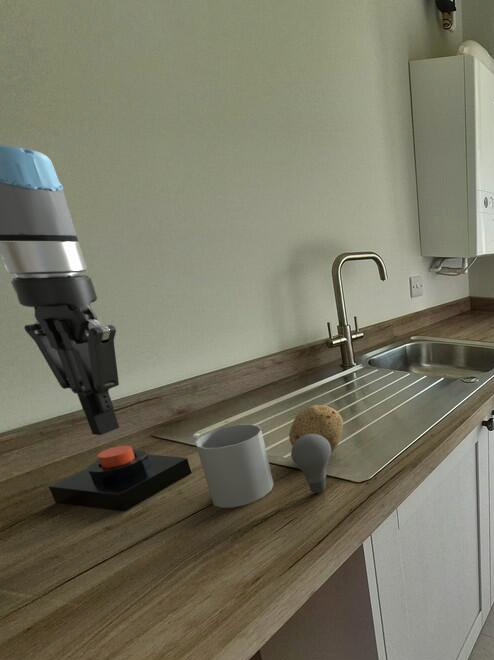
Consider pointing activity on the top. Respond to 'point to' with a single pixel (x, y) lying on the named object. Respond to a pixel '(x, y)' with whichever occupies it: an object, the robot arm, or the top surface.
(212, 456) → the cup
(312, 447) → the light bulb
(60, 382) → the robot arm
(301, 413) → the natural sponge
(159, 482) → the black button base
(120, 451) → the button
